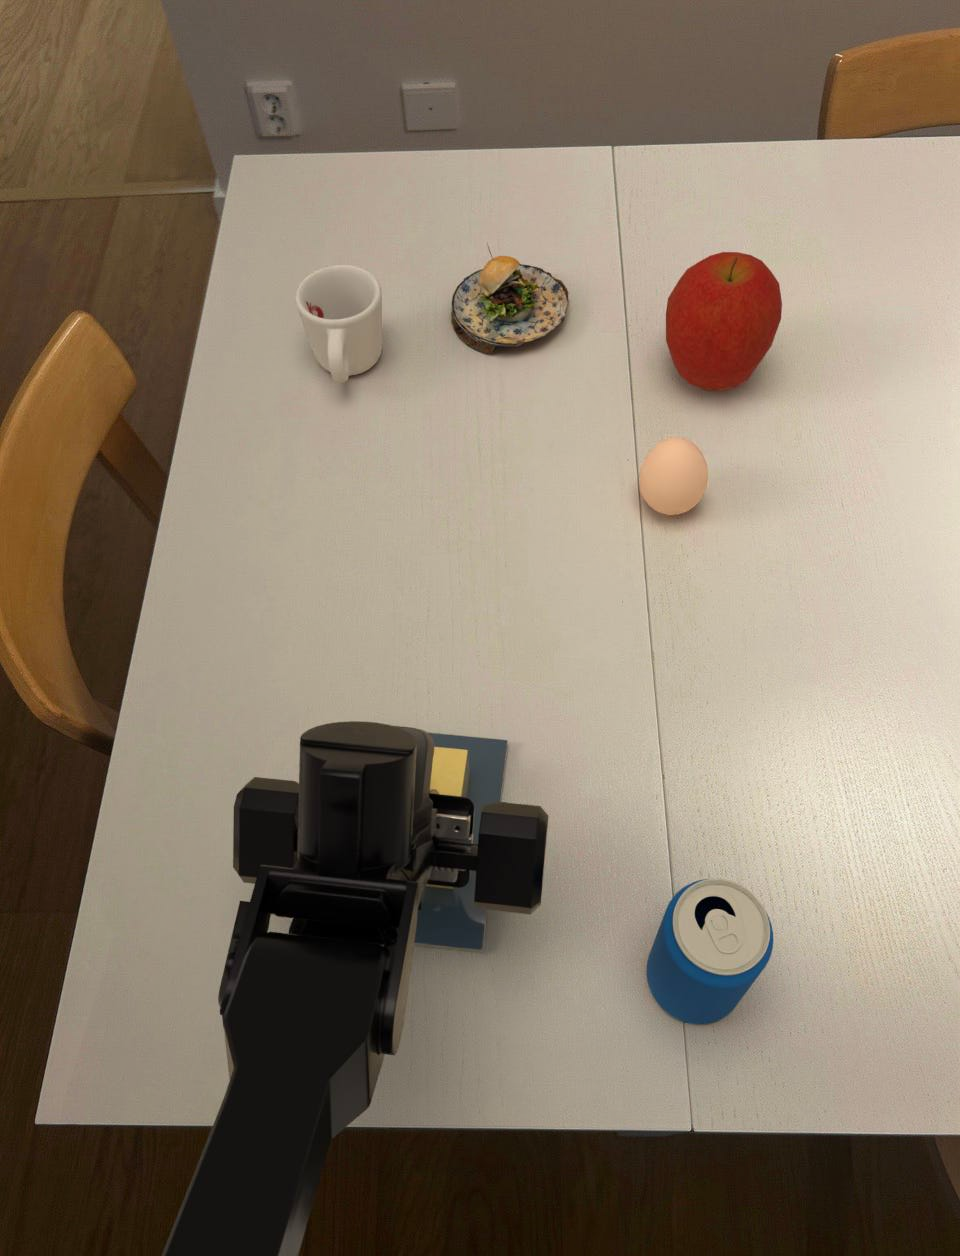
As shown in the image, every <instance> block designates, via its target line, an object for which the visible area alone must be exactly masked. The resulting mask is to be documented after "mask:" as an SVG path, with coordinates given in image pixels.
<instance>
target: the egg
mask: <svg viewBox="0 0 960 1256" xmlns="http://www.w3.org/2000/svg"><path fill="white" fill-rule="evenodd" d="M638 480H639V481H638V482H639V483H638V484H639V490H640V492H641V495H642V498H643V500H645V503H647V505H648V506H649V507H650V508H651V509H653V510H654V511H656V512H658V513H659V514H663V515H668V516H674V515H680V514H684V513H687V512H689V511H690V510H692V508H693V509H694V507H695V506H696V505H697V504H698V503H699V502H700V501H701V500H702V498H703V497H704V495H705V492H706V489H707V487H708V480H709V467H708V463H707V460H706V458H705V456H704V454H703V452H702V450H701V449H700V448H699V447H698V445H696V444H695V443H694V442H693V441H691V440H689V439H686V438H684V437H677V436H676V437H675V436H674V437H669V438H666V439H664V440H662V441H660V442H658V443H657V444H655V446H653V447H652V449H651V450H650V451H649V452H648V453H647V454H646V456H645V457H644V460H643V462H642V464H641V466H640V470H639V475H638Z"/></svg>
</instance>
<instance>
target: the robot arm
mask: <svg viewBox="0 0 960 1256" xmlns="http://www.w3.org/2000/svg"><path fill="white" fill-rule="evenodd" d="M429 733H430V732H428V731H426V730H424V729H421V728H416V727H410V726H401V725H392V724H386V723H380V722H374V721H359V720H357V721H356V720H355V721H352V720H349V721H336V722H330V723H325V724H320V725H316V726H314V727H311V728H309V729H307V730H305V731H304V732H302V734H301V735H300V737H299V757H298V758H299V759H298V760H299V761H298V762H299V763H298V782H297V781H296V780H288V779H280V778H278V779H277V778H271V777H270V778H268V777H258V776H254V777H252V778H251V779H250V780H249V781H248V782H247V783H245V785H244V786H243V787H242V788H241V789H240V790H239V792H237V793H236V795H235V796H236V797H235V801H234V804H233V831H232V832H233V833H232V835H233V837H232V838H233V839H232V843H233V844H232V868H233V869H234V870H235V872H236V874H237V875H238V877H239V878H240V879H241V881H242V882H243V883H244V884H252V885H253V884H254V886H253V889H252V891H251V892H252V893H251V896H250V899H249V901H247V900H239V904H238V907H237V912H236V917H235V920H234V925H233V929H232V933H231V938H230V942H229V945H228V950H227V954H226V960H225V963H224V968H223V973H222V977H221V981H220V985H219V989H218V997H217V1001H218V1006H219V1015H220V1016H221V1018H222V1027H223V1033H224V1041H225V1050H226V1051H225V1052H226V1060H227V1067H228V1068H227V1069H228V1077H229V1081H228V1085H227V1088H226V1091H225V1094H224V1096H223V1098H222V1099H223V1100H222V1102H221V1104H220V1107H219V1109H218V1112H217V1114H216V1117H215V1119H214V1122H213V1124H212V1127H211V1129H210V1132H209V1135H208V1137H207V1140H206V1142H205V1145H204V1147H203V1149H202V1152H201V1155H200V1158H199V1160H198V1163H197V1165H196V1167H195V1170H194V1172H193V1175H192V1177H191V1180H190V1183H189V1185H188V1188H187V1190H186V1193H185V1196H184V1198H183V1200H182V1203H181V1205H180V1208H179V1211H178V1212H177V1216H176V1218H175V1221H174V1223H173V1225H172V1228H171V1230H170V1233H169V1237H168V1238H167V1241H166V1243H165V1246H164V1248H163V1251H162V1253H161V1256H299V1254H300V1250H301V1247H302V1243H303V1240H304V1236H305V1233H306V1229H307V1225H308V1221H309V1218H310V1215H311V1211H312V1207H313V1203H314V1199H315V1196H316V1193H317V1190H318V1185H319V1182H320V1179H321V1174H322V1171H323V1167H324V1165H325V1161H326V1158H327V1155H328V1152H329V1149H330V1146H331V1143H332V1140H333V1139H334V1138H335V1137H336V1136H338V1135H339V1134H340V1133H341V1132H343V1130H344V1129H346V1128H347V1127H348V1126H349V1125H350V1124H352V1123H353V1122H354V1121H355V1120H356V1119H357V1118H359V1117H361V1115H363V1113H365V1112H366V1111H367V1110H368V1109H369V1107H370V1105H371V1104H372V1100H373V1096H374V1093H375V1089H376V1086H377V1083H378V1079H379V1076H380V1072H381V1070H382V1065H383V1063H384V1058H385V1055H388V1056H389V1055H390V1056H396V1054H397V1052H398V1050H399V1047H400V1044H401V1039H402V1036H403V1035H402V1034H403V1029H404V1023H405V1017H406V1009H407V1001H408V993H409V986H410V979H411V971H412V965H413V964H412V963H413V957H414V956H413V955H414V949H415V947H414V946H415V945H414V941H415V934H416V926H417V916H418V910H421V909H422V906H423V903H424V891H425V887H426V884H430V885H439V886H448V887H457V888H461V887H464V886H466V885H467V884H468V882H469V879H470V872H471V870H472V871H476V882H475V897H474V904H475V908H476V909H485V910H488V911H496V912H505V913H514V914H521V915H532V914H533V913H534V912H536V910H537V909H539V908H540V907H541V906H542V898H543V897H542V896H543V888H544V876H545V875H544V874H545V863H546V853H547V851H546V850H547V838H548V828H549V817H550V816H549V814H548V813H547V812H546V811H545V809H543V808H542V806H541V805H535V804H524V803H515V802H503V801H501V802H495V803H491V804H487V805H483V809H482V812H481V820H480V828H479V837H478V844H476V843H473V827H474V804H473V802H472V801H471V800H470V799H469V798H467V797H461V796H452V795H442V794H439V792H438V791H437V790H436V789H431V790H430V782H431V772H432V762H433V755H434V741H433V738H432V737H431V735H430V734H429ZM272 915H273V916H275V917H279V918H288V919H292V920H291V923H290V925H289V928H288V933H285V932H277V931H269V928H270V920H271V916H272Z"/></svg>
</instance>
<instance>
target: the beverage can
mask: <svg viewBox="0 0 960 1256" xmlns="http://www.w3.org/2000/svg"><path fill="white" fill-rule="evenodd" d="M772 925H773V924H772V922H771V918H770V917H769V914H768V912H767V910H766V909H765V907H764V906H763V903H762V902H761V901H760V900H759V899H758V897H757V896H756V895H755V894H754V893H753V892H751V890H749V889H748V888H747V887H745V886H744V885H743V884H739V883H737V882H735V881H732V880H729V879H725V878H704V879H700V880H696V881H693V882H690V883H688V884H686V885H685V886H684V887H682V888H680V890H678V891H677V892H676V893H675V894H674V895H673V897H672V898H671V899H670V901H669V902H668V904H667V907H666V909H665V911H664V914H663V917H662V919H661V921H660V925H659V927H658V930H657V932H656V936H655V938H654V941H653V943H652V946H651V949H650V951H649V954H648V957H647V961H646V980H647V984H648V987H649V990H650V993H651V994H652V996H653V998H654V1000H655V1001H656V1003H657V1004H658V1005H659V1006H660V1008H662V1010H663V1011H665V1012H666V1013H667V1014H668V1015H670V1016H671V1017H672V1018H675V1019H676V1020H678V1021H680V1022H683V1023H686V1024H690V1025H709V1024H714V1023H716V1022H719V1021H721V1020H723V1019H724V1018H726V1017H727V1016H728V1015H730V1014H731V1013H732V1012H733V1011H734V1010H735V1008H736V1007H737V1005H738V1004H739V1003H740V1002H741V1000H742V999H743V998H744V996H745V995H746V994H747V992H748V991H749V989H750V988H751V987H752V985H753V984H754V983H755V981H756V980H757V979H758V978H759V976H760V975H761V974H762V973H763V971H764V969H765V968H766V967H767V965H768V963H769V961H770V959H771V956H772V952H773V948H774V930H773V926H772Z"/></svg>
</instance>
